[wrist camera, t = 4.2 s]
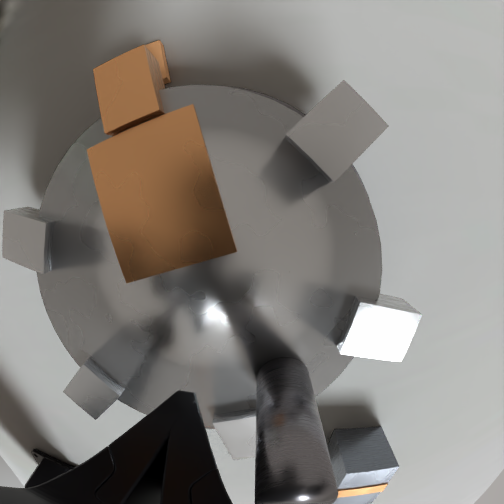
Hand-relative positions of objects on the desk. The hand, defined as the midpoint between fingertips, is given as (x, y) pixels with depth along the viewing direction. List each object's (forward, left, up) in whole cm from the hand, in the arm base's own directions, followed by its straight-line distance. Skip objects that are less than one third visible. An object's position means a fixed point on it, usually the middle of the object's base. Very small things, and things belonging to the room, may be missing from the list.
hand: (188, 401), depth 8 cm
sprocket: (+3, 0, -3) cm, 5 cm away
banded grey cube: (-8, -9, -5) cm, 12 cm away
